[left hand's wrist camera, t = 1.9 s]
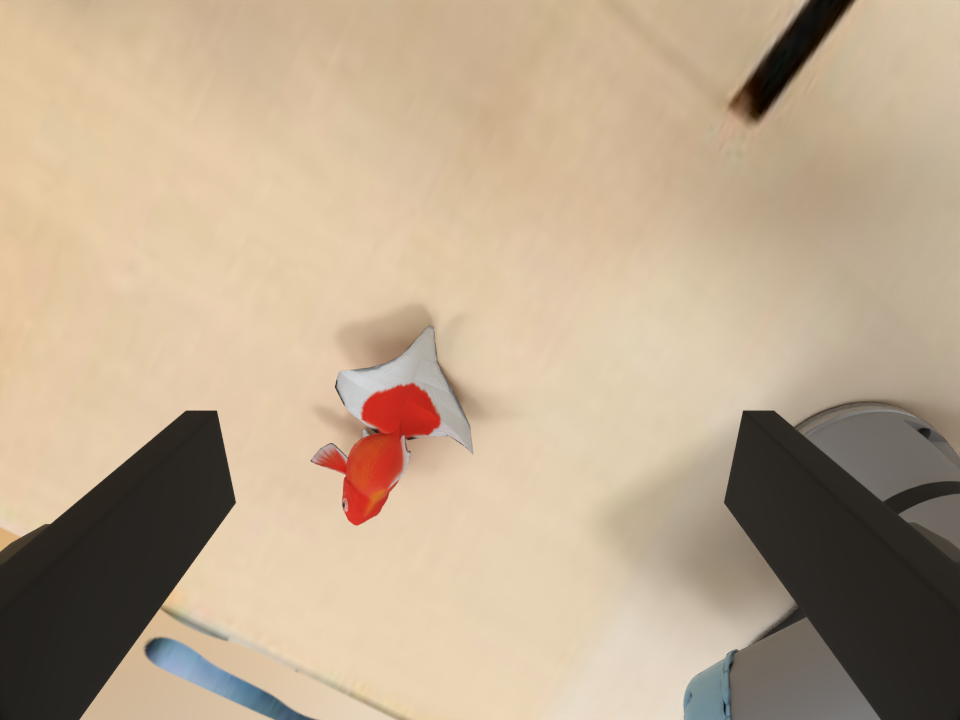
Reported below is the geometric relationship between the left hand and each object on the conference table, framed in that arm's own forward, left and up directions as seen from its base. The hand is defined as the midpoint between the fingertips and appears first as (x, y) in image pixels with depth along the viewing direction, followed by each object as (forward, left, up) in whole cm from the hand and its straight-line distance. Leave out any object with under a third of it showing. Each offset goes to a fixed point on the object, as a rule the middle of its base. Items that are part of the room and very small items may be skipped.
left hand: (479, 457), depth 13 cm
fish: (-8, +10, -27) cm, 30 cm away
